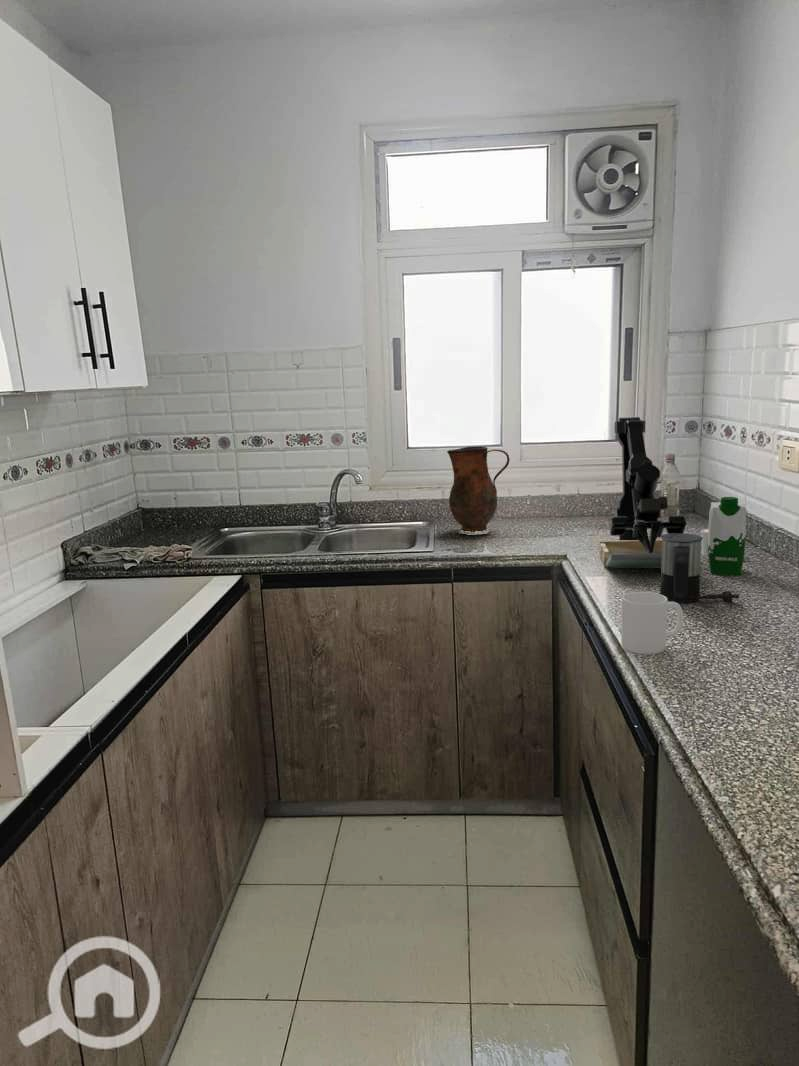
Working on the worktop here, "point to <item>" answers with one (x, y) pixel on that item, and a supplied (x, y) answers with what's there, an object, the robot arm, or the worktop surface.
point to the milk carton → (726, 536)
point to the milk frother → (684, 569)
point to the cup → (647, 622)
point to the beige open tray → (625, 549)
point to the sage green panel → (634, 560)
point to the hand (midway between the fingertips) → (650, 552)
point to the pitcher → (473, 488)
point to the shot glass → (704, 541)
